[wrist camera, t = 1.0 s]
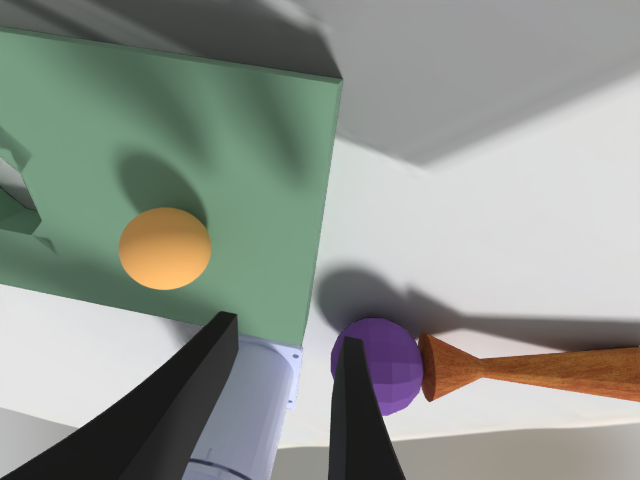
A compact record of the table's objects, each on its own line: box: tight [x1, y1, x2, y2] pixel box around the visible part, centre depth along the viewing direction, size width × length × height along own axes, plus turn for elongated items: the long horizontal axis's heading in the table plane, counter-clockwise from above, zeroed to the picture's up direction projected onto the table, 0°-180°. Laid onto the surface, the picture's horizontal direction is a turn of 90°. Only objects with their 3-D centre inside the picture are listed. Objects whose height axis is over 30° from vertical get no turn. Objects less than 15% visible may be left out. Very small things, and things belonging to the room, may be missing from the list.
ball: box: [118, 207, 211, 290], centre depth 14 cm, size 4×4×4 cm
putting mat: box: [0, 26, 343, 346], centre depth 17 cm, size 16×24×2 cm, turn 83°
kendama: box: [331, 318, 640, 416], centre depth 19 cm, size 6×6×20 cm
